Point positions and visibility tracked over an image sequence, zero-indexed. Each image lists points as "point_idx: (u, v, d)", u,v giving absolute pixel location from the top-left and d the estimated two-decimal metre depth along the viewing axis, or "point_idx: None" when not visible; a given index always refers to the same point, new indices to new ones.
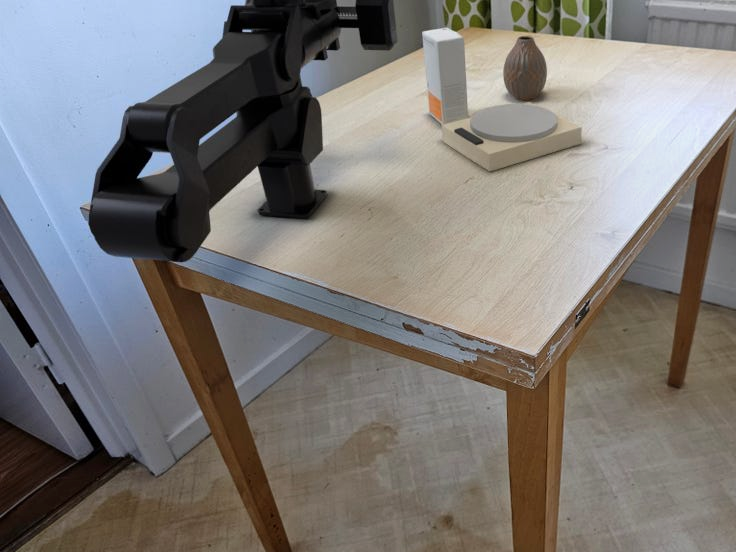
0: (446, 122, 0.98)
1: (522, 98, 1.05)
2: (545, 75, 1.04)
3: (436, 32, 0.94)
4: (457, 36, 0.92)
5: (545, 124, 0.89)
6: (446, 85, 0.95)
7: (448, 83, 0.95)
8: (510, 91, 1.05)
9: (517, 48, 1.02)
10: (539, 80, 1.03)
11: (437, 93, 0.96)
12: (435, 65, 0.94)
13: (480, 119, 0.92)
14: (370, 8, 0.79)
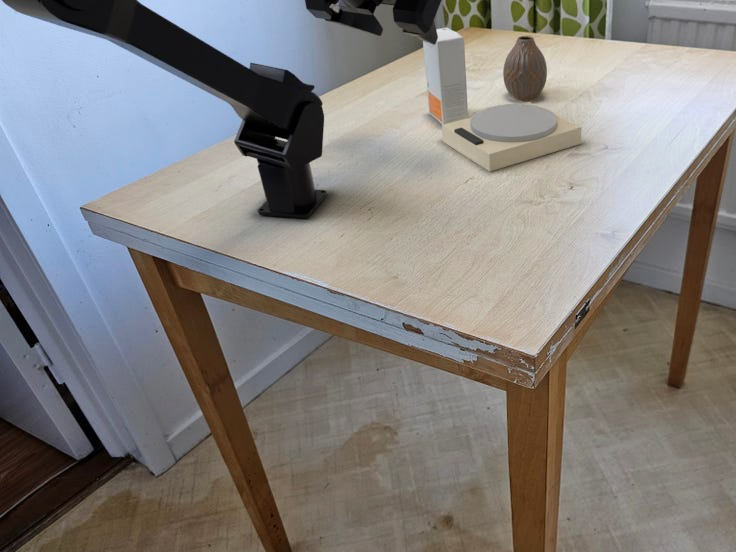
0: (446, 122, 0.98)
1: (522, 98, 1.05)
2: (545, 75, 1.04)
3: None
4: (457, 36, 0.92)
5: (545, 124, 0.89)
6: (446, 85, 0.95)
7: (448, 83, 0.95)
8: (510, 91, 1.05)
9: (517, 48, 1.02)
10: (539, 80, 1.03)
11: (437, 93, 0.96)
12: (435, 65, 0.94)
13: (480, 119, 0.92)
14: None
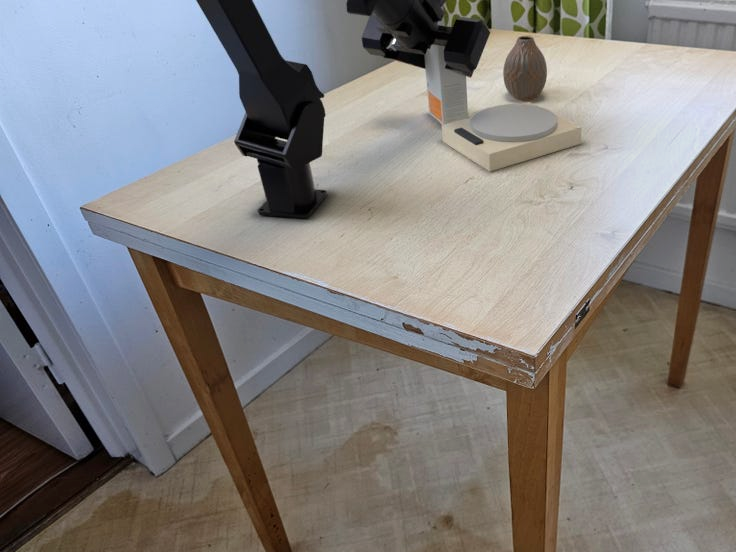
0: (446, 122, 0.98)
1: (522, 98, 1.05)
2: (545, 75, 1.04)
3: None
4: None
5: (545, 124, 0.89)
6: (446, 85, 0.95)
7: (448, 83, 0.95)
8: (510, 91, 1.05)
9: (517, 48, 1.02)
10: (539, 80, 1.03)
11: (437, 93, 0.96)
12: (435, 65, 0.94)
13: (480, 119, 0.92)
14: (467, 23, 0.85)
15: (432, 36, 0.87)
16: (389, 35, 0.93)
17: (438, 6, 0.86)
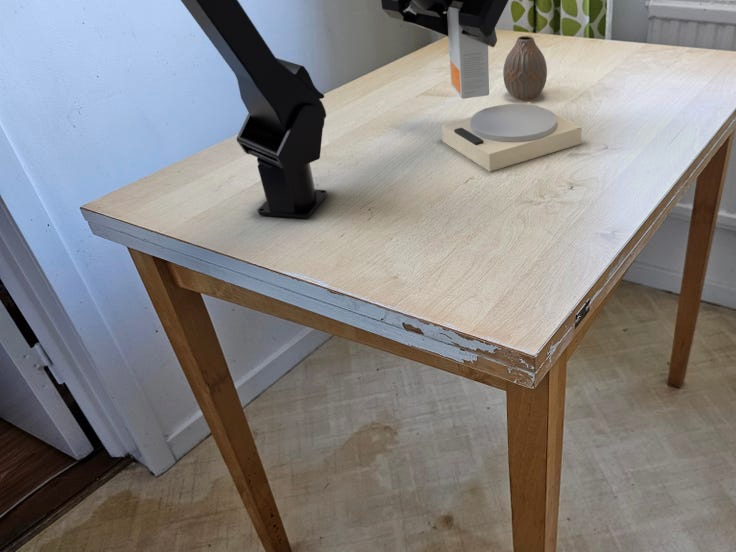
0: (464, 94, 0.92)
1: (522, 98, 1.05)
2: (545, 75, 1.04)
3: None
4: None
5: (545, 124, 0.89)
6: (465, 54, 0.89)
7: (468, 51, 0.89)
8: (510, 91, 1.05)
9: (517, 48, 1.02)
10: (539, 80, 1.03)
11: (457, 62, 0.91)
12: (455, 31, 0.88)
13: (480, 119, 0.92)
14: None
15: None
16: None
17: None
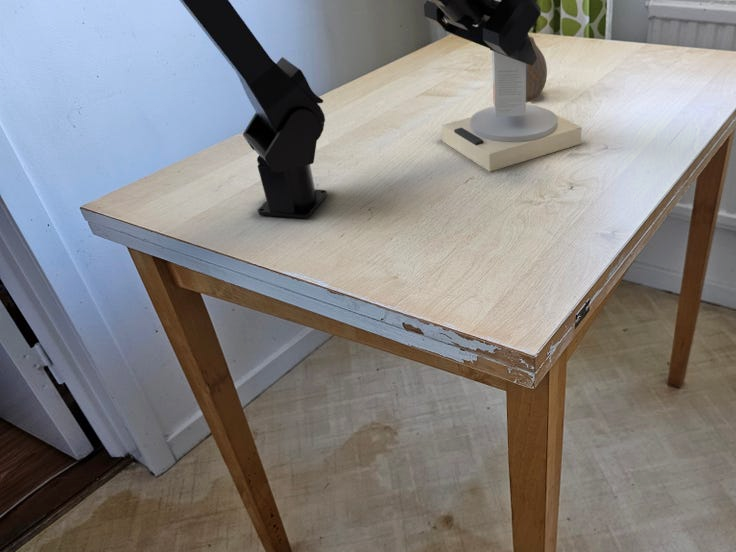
0: (498, 112, 0.87)
1: None
2: (545, 75, 1.04)
3: None
4: None
5: (545, 124, 0.89)
6: (500, 70, 0.84)
7: (504, 67, 0.84)
8: None
9: None
10: (539, 80, 1.03)
11: (493, 77, 0.86)
12: None
13: (480, 119, 0.92)
14: None
15: (479, 11, 0.77)
16: None
17: None
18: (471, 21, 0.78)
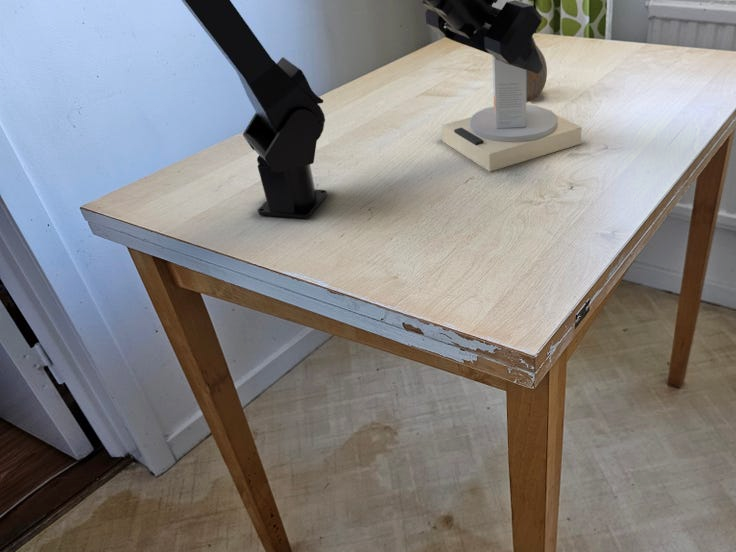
0: (499, 124, 0.88)
1: None
2: (545, 75, 1.04)
3: None
4: None
5: (545, 124, 0.89)
6: (501, 83, 0.85)
7: (504, 81, 0.85)
8: None
9: None
10: (539, 80, 1.03)
11: (494, 90, 0.87)
12: (493, 59, 0.84)
13: (480, 119, 0.92)
14: (514, 7, 0.74)
15: (481, 19, 0.78)
16: None
17: None
18: (472, 29, 0.78)
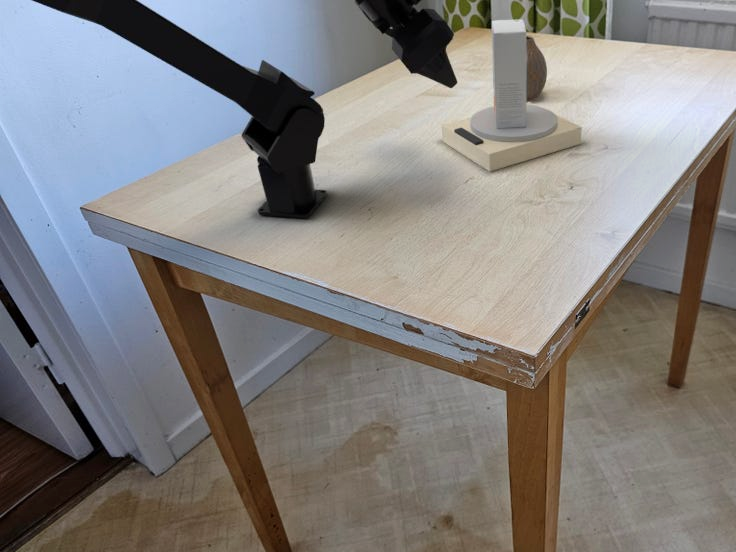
0: (499, 124, 0.88)
1: None
2: (545, 75, 1.04)
3: (504, 23, 0.84)
4: (520, 30, 0.81)
5: (545, 124, 0.89)
6: (501, 83, 0.85)
7: (504, 81, 0.85)
8: None
9: None
10: (539, 80, 1.03)
11: (494, 90, 0.87)
12: (493, 59, 0.84)
13: (480, 119, 0.92)
14: (426, 17, 0.70)
15: (397, 17, 0.74)
16: None
17: None
18: (386, 25, 0.74)
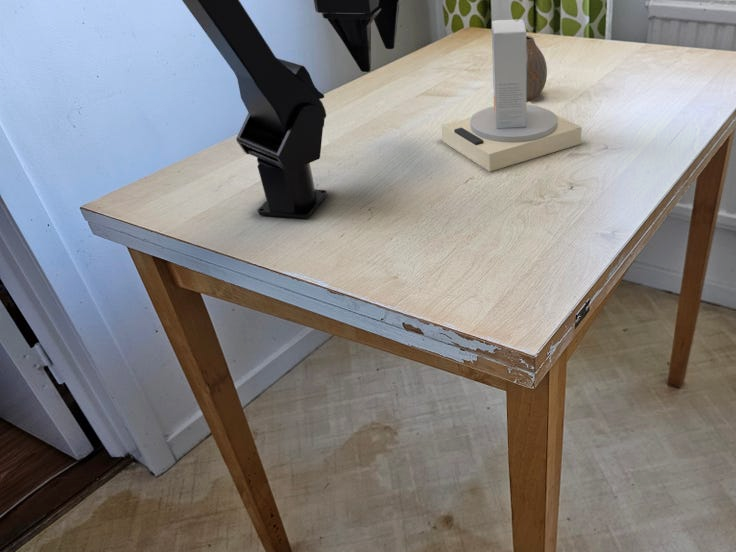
0: (499, 124, 0.88)
1: None
2: (545, 75, 1.04)
3: (504, 23, 0.84)
4: (520, 30, 0.81)
5: (545, 124, 0.89)
6: (501, 83, 0.85)
7: (504, 81, 0.85)
8: None
9: None
10: (539, 80, 1.03)
11: (494, 90, 0.87)
12: (493, 59, 0.84)
13: (480, 119, 0.92)
14: None
15: None
16: None
17: None
18: None
